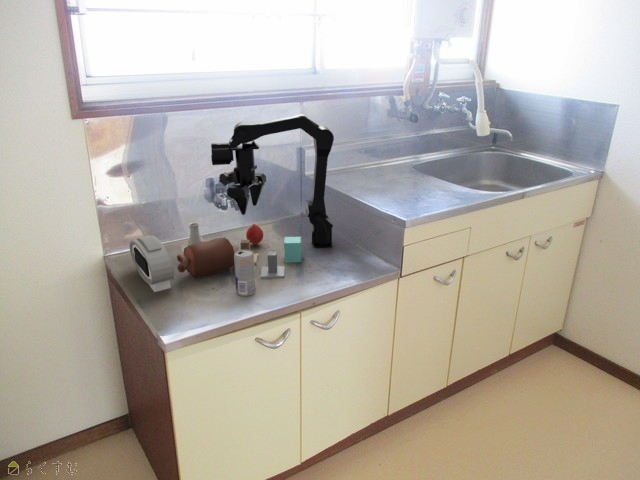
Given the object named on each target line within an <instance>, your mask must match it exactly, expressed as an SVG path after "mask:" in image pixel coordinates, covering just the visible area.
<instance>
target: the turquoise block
mask: <svg viewBox="0 0 640 480" xmlns="http://www.w3.org/2000/svg"><path fill="white" fill-rule="evenodd" d="M283 241H284V243H283V249H284V250H283V251H284V263H302V236H284V240H283Z"/></svg>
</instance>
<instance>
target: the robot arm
mask: <svg viewBox="0 0 640 480" xmlns="http://www.w3.org/2000/svg"><path fill="white" fill-rule="evenodd" d="M300 129H301V130H302V131H303V132H305V133H306V134H307V135H309V136H310V137H311V138H312V139H313V145H314V146H313V147H314V155H315V158H314V169H313V182H312V193H311V198H310V199H309V200H308V199H307V200H305V203H306V207H305V210H304V211H305V214H306V217H307V218H308V221H309V223H310V224H311V225H312V228H313V229H311V231H310V232H311V244H312V247H313V248H327V247H328V248H332V247H333V227H334V225H333V223H332V220H331V219H330V216H329V215H328V214H327V210H326V203H325V194H326V193H325V191H326V182H327V171H328V159H329V155H330V153H331V152H332V151H331V150H332V148H333V144H334V140H335V138H334V137H335V135H334V134H333V131H331V130H330V128H329V127H327V126H325V125H319V124H317V123H316V122H315V121H313V120H311V119H310V118H308V117H307V115H306V114H303V113H299V114H297V115H290V116H287V117H282V118H276V119H272V120H267V121H240V122H238V123H236V124H235V125H234V128H233V135H232V136H231V137H230V138H229V141H228V142H219V143H218V142H211V145H210V146H211V147H210V148H211V149H210V150H211V157H210V158H211V159H210V160H211V165H212V166H224V165H225V166H226V165H231V163H233V162H234V161H235V165H236V166H235V167H234V168H233V170H231V171H228V172H223V173H220V174H219V179H218V181H219V183H220V184H222V185H223V186H224V187H225V186H227V185H229V184H232V183H233V184H232V185H231V186H229V187H228V188H227V189H226V190H225V193H226V197H229V199H233V200H234V201H235V202H236V206H237V207H238V209H239V211H240V214H241V215H243V216H245V215H246V213H247V210H248V206H249V200H250V198H251V203H252V206H253V207H255V206H257V204H258V201H259V199H260V196H261V193H262V192H263V188H264V187H265V185H266V184H265V183H267V176H266V174H264V173H262V172H261V173H260V172H256V170H257V168H258V165H257V164H255V154H254V150H259V149H260V145H259V144H258V143H257V142H256V141H255V140H258V139H259V138H262V137H264V136H268V135H274V134H278V133H284V132H289V131H295V130H300ZM234 152H235V153H234ZM234 154H235V157H234ZM234 158H235V159H234Z"/></svg>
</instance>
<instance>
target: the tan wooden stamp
mask: <svg viewBox="0 0 640 480" xmlns="http://www.w3.org/2000/svg"><path fill="white" fill-rule="evenodd" d="M240 250H251V243H250V240H247V239H241V240H240ZM253 255H254V265H257V262H258V258H259V257H258V256H259V253H253ZM234 266H235V264H234Z"/></svg>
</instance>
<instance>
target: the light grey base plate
mask: <svg viewBox="0 0 640 480" xmlns="http://www.w3.org/2000/svg"><path fill="white" fill-rule="evenodd" d="M285 267H286V266H285V265H278V252H277V251H267V265H266V266H261V270H260V272H261V273H260V279H282V278H285V270H286V268H285Z"/></svg>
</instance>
